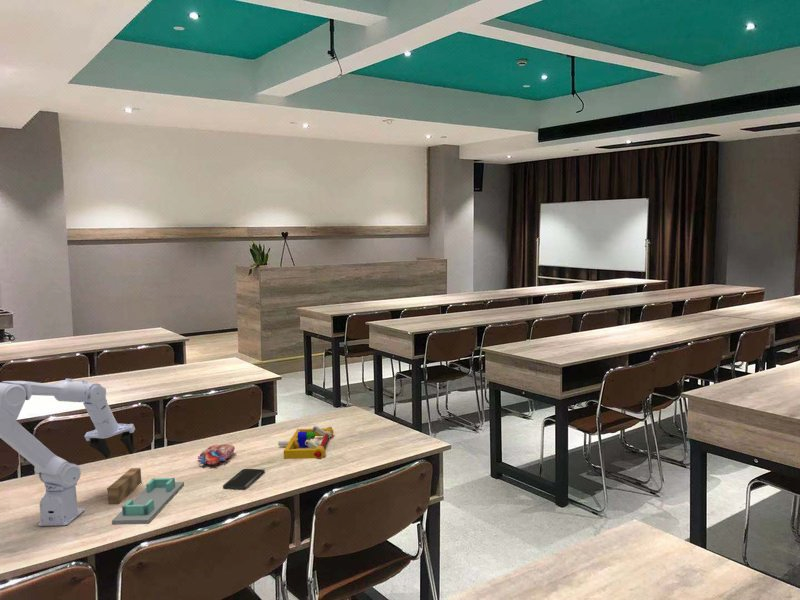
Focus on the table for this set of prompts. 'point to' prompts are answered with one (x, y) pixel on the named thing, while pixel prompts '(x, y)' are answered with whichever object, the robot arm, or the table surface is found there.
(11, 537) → the table surface
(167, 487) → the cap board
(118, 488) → the slat
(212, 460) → the anatomical model
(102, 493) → the table surface
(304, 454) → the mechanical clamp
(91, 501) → the table surface
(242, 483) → the phone
